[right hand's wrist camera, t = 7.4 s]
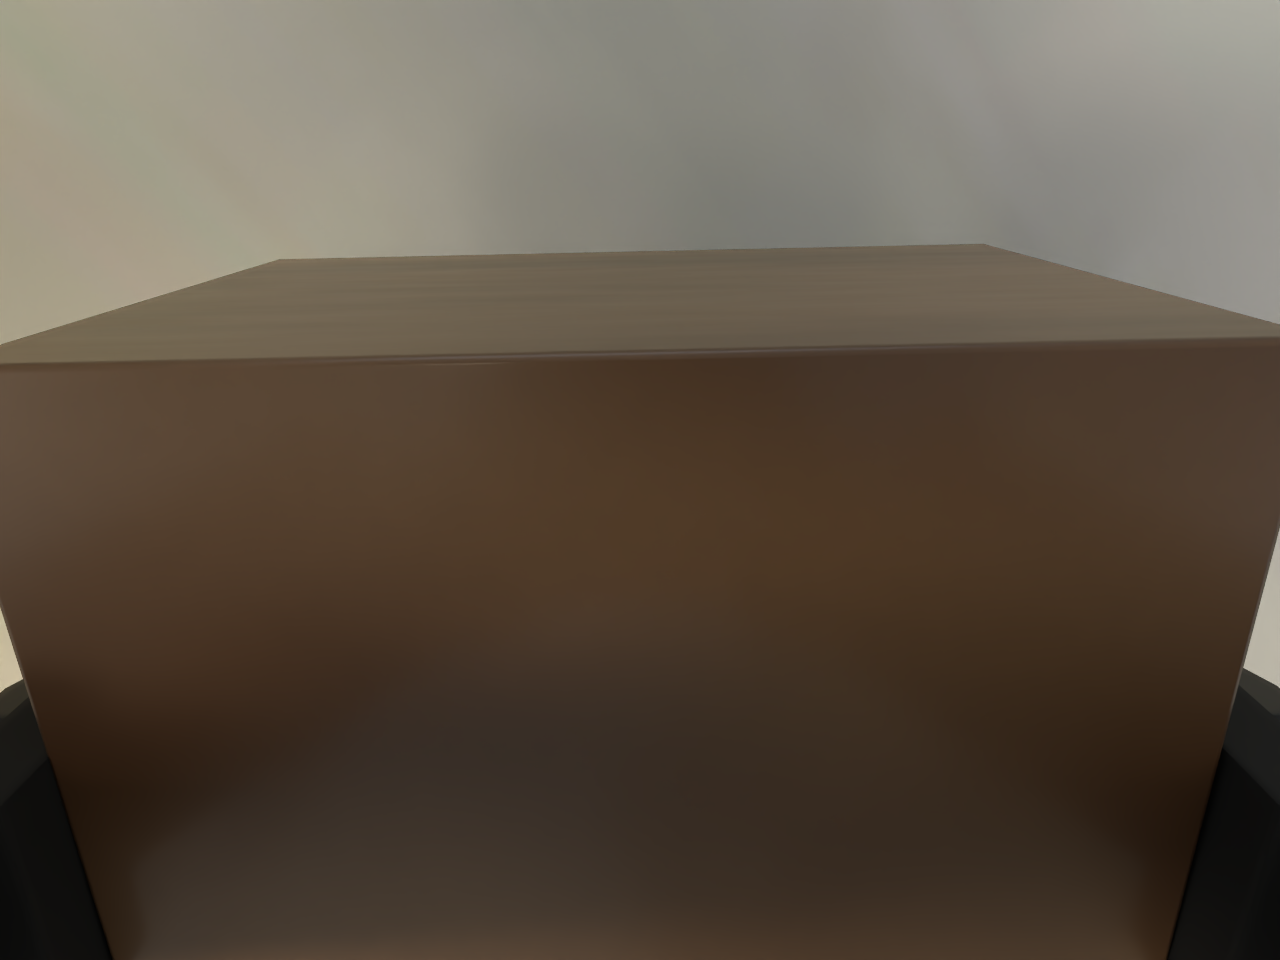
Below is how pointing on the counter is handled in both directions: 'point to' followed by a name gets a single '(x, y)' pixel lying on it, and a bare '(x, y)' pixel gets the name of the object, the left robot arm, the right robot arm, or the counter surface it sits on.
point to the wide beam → (640, 603)
